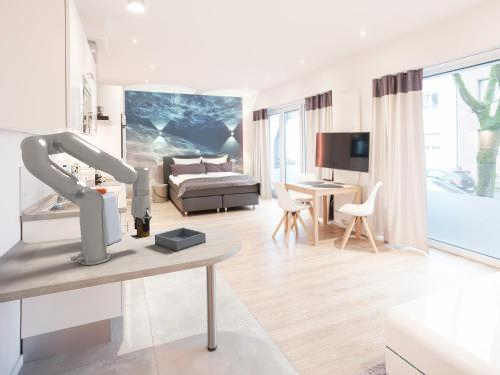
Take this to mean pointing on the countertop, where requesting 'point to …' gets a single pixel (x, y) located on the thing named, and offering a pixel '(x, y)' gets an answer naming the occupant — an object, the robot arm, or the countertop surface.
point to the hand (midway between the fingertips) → (141, 229)
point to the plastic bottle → (111, 217)
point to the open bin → (180, 239)
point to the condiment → (139, 230)
